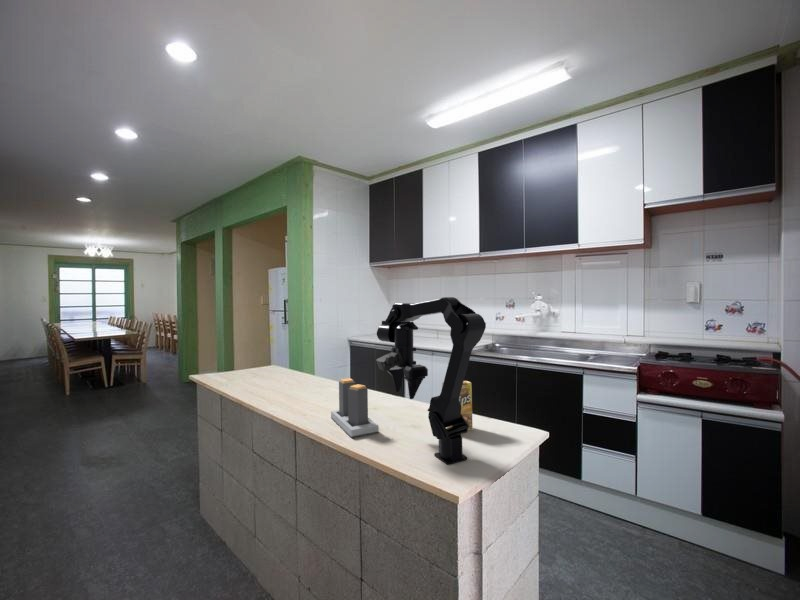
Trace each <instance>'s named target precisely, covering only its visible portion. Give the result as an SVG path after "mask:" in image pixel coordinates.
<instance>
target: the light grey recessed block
mask: <svg viewBox="0 0 800 600" xmlns="http://www.w3.org/2000/svg"><path fill="white" fill-rule="evenodd" d="M330 418H331V420H332V421H333V422H334V423H335V424H336V425H337V426H338V427H339V428H340V429H341V430H343V432H344V433H346V435H347V436H348V437H350V439H355V438H360V436H361V437H364V436H365V435H366V436H370V435H376V434H379V424H377V423H376V422H375V421H374V420H372V419H371V418H369V417H368V424H365V425H359V426H354V427H352V426H351V425H350V424H349V423H348V416H344V417H341V416H340V415H339V409H336V410H331V411H330ZM366 436H365V437H366Z"/></svg>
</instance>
